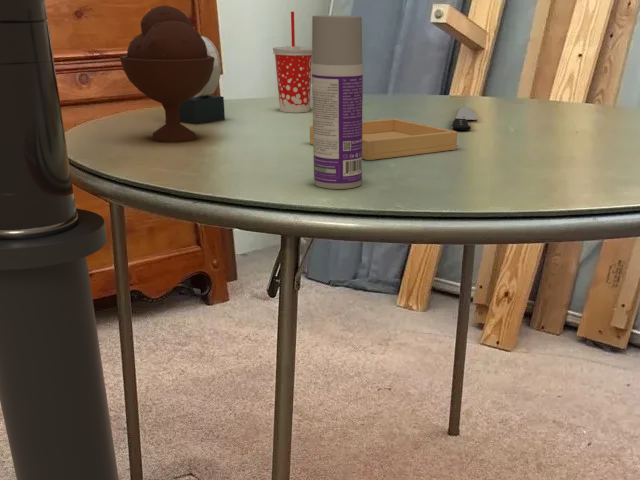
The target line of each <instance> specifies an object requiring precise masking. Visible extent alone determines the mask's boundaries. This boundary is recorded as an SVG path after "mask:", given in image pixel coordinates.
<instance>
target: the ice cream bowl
mask: <svg viewBox="0 0 640 480" xmlns="http://www.w3.org/2000/svg"><path fill="white" fill-rule="evenodd" d="M140 30H141V31H140V34H137V35H136V36H135V37H134V38H133V39H132V40H131V41H130V42H129V44H128V48H127V50H126V51H127V53H126V54H125V55H119V61H120V64H121V66H122V71H123V72H124V74H125V75H126V77H127V79H128V81H129V83H131V84H132V85H133V86H134V87H135V88H136V89H137V90H138V91H139V92H141V93H142V94H144V95H145V96H146V97H148V98H149V99H151V100H153V101H155V102H158V103H160V104H161V105H162V108H163V109H164V113H165V114H164V115H165V124H164V125H162V126H160V127H159V128H158V129H156V130H155V131H154V132H152V135H151V139H152V140H153V141H155V142H157V141H158V142H163V143H165V142H166V143H172V142H173V143H176V142H177V143H179V142H188V141H193V140H196V139H198V137H197V134H196V133H195V131H193V130H191V129H190V128H189V127H187V126H185V125H183V124H182V122H180V115H179V109H180V106H181V103H183V102H185V101H187V100H189V99H191V98H193V97H194V96H195V95H196V94H198V93H200V92H201V90H202V89H203V88H204V87H205V85H206V84H207V83H208V82H209V80H210V77H211V74H212V72H213V66H214V57H212V56H208V55H207V48H206V44H205V42H204V40H203V39H202V37H201V36H202V35H201V34H200V32H199V31H198V30H196V29H195V28H194V27H193V24H192V21H191V19H190V18H189V17H188V16H187V14H186V13H185V12H183V11H182V10H180V9H178V8H176V7H173V6H170V5H159V6H156V7H153V8H150V10H148V11H147V13H146V14H144V15H143V17H142V18H141V20H140Z"/></svg>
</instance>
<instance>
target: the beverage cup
mask: <svg viewBox="0 0 640 480" xmlns="http://www.w3.org/2000/svg"><path fill="white" fill-rule="evenodd" d="M290 29H291V31H290V32H291V33H290V34H291V45H286V46H276V47H272V51H273V52H272V54H274V58H275V59H274V61H275V69H276V83H277V93H278V104H279V111H280V112H283V113H308V112H310V109H311V91H312V90H311V89H312V47H308V46H307V47H305V46H299V45H296V42H295V41H296V39H295V38H296V37H295V35H296V33H295V11H290Z"/></svg>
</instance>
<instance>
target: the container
mask: <svg viewBox="0 0 640 480" xmlns="http://www.w3.org/2000/svg"><path fill="white" fill-rule="evenodd" d="M311 17H312V18H311V19H312V20H311V21H312V22H311V23H312V24H311V25H312V26H311V27H312V28H311V32H312V33H311V35H312V36H311V41H312V42H311V48H312V66H311V89H312V90H311V93H312V95H311V96H312V98H311V99H312V100H311V101H312V126H313V144H312V145H313V146H312V147H313V148H312V149H313V183H314V185H315V186H316V187H319V188H322V189H328V190H329V189H331V190H346V189H354V188H358V187H361V185H363V183H362V181H363V159H362V121H363V101H364V100H363V99H364V98H363V95H364V94H363V93H364V91H363V89H364V87H363V85H364V84H363V83H364V82H363V81H364V80H363V79H364V74H363V22H362V21H363V18H362V16H359V15H334V14H333V15H332V14H331V15H323V14H322V15H312V16H311Z"/></svg>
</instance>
